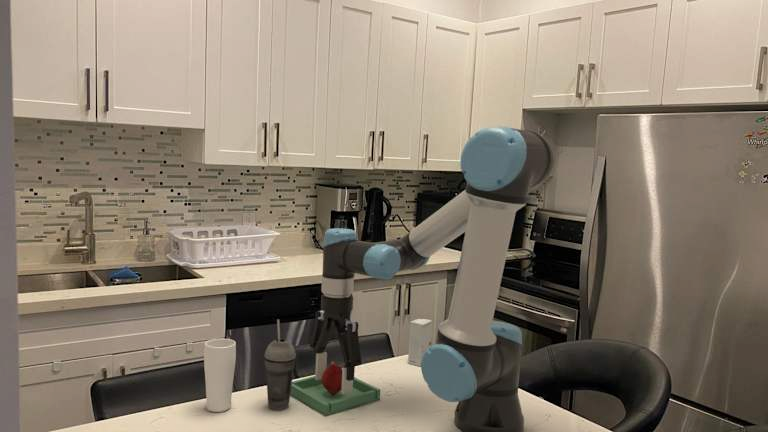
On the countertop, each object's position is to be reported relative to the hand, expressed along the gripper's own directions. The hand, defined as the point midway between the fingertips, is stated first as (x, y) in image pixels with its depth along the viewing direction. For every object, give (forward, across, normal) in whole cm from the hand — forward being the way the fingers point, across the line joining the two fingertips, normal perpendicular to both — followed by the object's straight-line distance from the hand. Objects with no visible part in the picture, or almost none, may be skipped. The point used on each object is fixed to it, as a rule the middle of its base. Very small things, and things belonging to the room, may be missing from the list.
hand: (333, 385), depth 144 cm
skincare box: (+3, +6, -35) cm, 36 cm away
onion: (+2, 0, 0) cm, 2 cm away
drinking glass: (+3, +9, +25) cm, 27 cm away
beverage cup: (+3, +2, +14) cm, 14 cm away
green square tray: (+3, 0, 0) cm, 3 cm away
